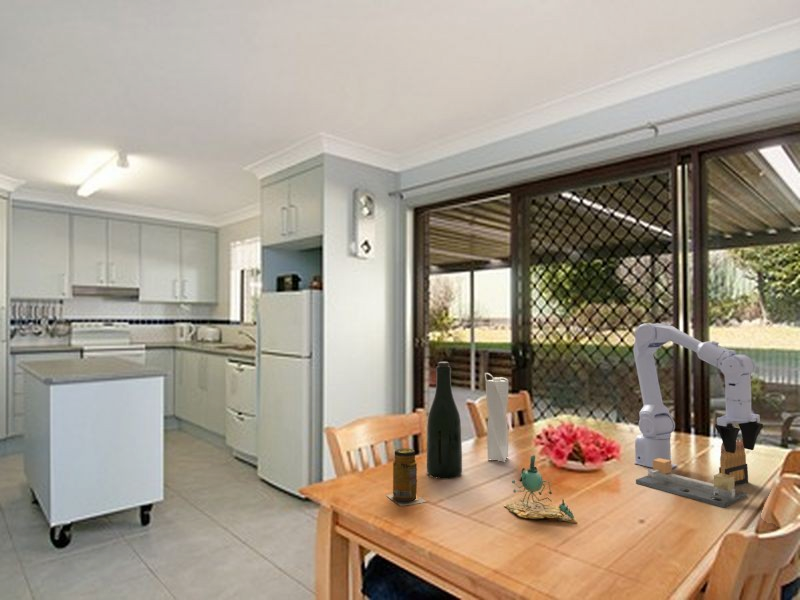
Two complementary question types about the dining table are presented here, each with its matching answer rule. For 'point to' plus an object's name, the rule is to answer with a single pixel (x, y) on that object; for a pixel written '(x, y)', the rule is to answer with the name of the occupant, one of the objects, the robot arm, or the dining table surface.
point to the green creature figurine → (533, 508)
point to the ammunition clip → (734, 463)
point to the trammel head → (661, 467)
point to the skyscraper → (497, 418)
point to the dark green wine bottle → (444, 429)
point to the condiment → (405, 478)
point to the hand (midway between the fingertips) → (739, 450)
